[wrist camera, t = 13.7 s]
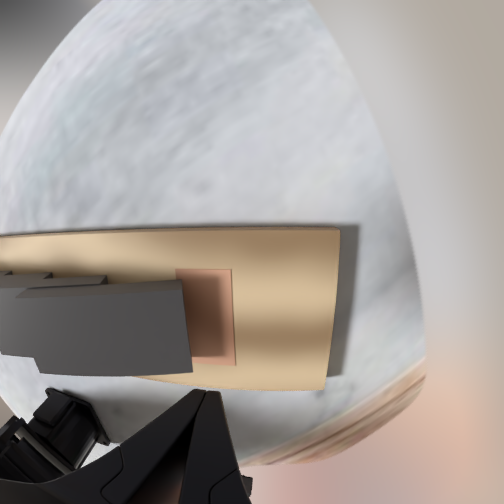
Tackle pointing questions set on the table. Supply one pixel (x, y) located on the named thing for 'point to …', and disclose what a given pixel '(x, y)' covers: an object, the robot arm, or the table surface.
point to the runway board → (217, 293)
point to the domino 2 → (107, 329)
